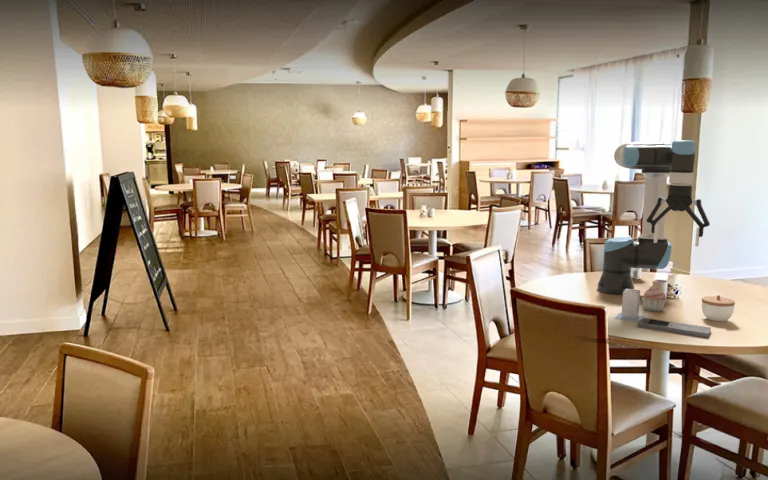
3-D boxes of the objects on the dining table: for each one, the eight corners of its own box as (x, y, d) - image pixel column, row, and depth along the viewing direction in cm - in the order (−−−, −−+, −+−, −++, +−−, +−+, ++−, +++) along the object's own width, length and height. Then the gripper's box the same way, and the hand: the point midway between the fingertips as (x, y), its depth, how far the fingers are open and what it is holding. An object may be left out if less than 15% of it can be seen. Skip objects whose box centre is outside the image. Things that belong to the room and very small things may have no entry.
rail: (637, 328, 219) (638, 322, 218) (642, 322, 225) (642, 317, 225) (707, 339, 207) (708, 333, 206) (710, 333, 213) (710, 327, 213)
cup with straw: (633, 275, 304) (636, 235, 300) (649, 279, 296) (652, 237, 293) (621, 277, 299) (624, 236, 296) (637, 281, 292) (640, 239, 288)
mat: (614, 319, 229) (614, 318, 229) (620, 313, 237) (620, 312, 237) (640, 323, 224) (640, 322, 224) (645, 317, 232) (645, 316, 232)
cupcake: (667, 314, 237) (669, 288, 235) (641, 311, 240) (642, 286, 238) (665, 307, 245) (667, 283, 244) (640, 305, 248) (642, 281, 247)
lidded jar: (694, 316, 234) (696, 292, 232) (721, 315, 235) (723, 291, 233) (711, 324, 223) (713, 299, 222) (739, 324, 224) (742, 298, 223)
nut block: (621, 317, 230) (623, 291, 228) (624, 314, 234) (626, 288, 232) (635, 319, 227) (637, 293, 225) (638, 316, 231) (640, 290, 230)
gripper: (721, 185, 215) (716, 245, 218) (645, 182, 229) (641, 239, 232) (719, 186, 209) (713, 249, 212) (640, 183, 222) (636, 242, 226)
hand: (675, 244), depth 222 cm, fingers open, 13 cm apart
